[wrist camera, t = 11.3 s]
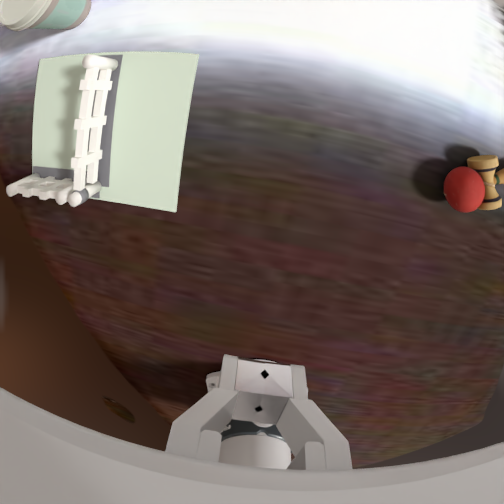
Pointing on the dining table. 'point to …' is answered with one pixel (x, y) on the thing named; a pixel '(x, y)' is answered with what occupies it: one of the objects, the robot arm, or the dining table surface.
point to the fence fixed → (43, 188)
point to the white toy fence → (90, 126)
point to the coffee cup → (43, 13)
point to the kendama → (474, 184)
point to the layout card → (119, 124)
